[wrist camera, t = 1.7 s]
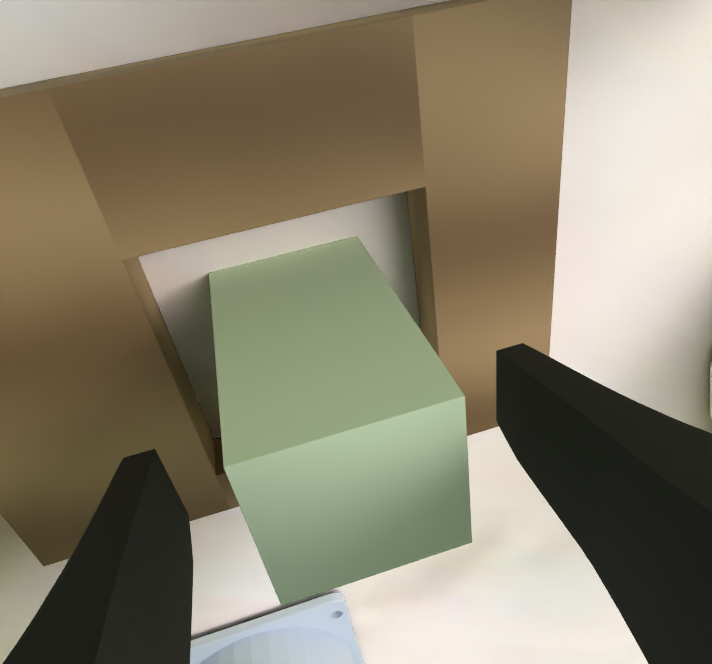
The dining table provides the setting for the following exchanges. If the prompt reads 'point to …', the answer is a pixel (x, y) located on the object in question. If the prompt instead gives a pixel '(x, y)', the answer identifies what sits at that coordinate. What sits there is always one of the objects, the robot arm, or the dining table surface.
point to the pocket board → (261, 222)
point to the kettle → (711, 390)
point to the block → (335, 420)
